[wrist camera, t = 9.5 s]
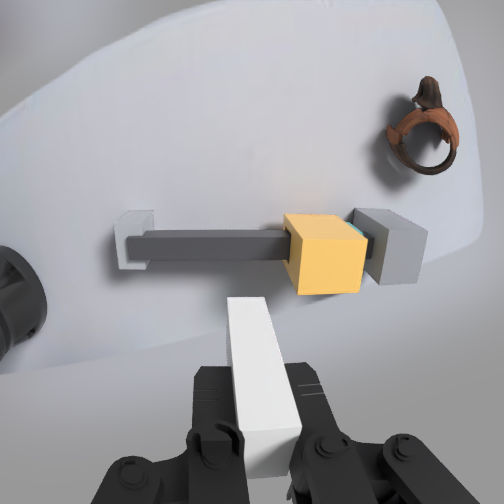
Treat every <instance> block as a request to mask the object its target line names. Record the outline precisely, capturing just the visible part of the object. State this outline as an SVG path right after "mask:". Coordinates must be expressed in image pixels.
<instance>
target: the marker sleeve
mask: <svg viewBox="0 0 504 504" xmlns="http://www.w3.org/2000/svg"><path fill="white" fill-rule="evenodd" d="M283 230H289V232H290V233H291V246H290V259H289V260H282V261H283V263H284V266H285V268H286V270H287V272H288V275H289V277H290V279H291V281H292V284H293V286H294V288H295V290H296V293H297V295H313V294H338V293H358V292H359V289H360V284H361V279H362V273H363V267H364V261H365V255H366V249H367V242H368V240H367V239H366V238H365V237H364V236H362V235H361V234H360V233H359V232H357V231H356V230H355V229H354V228H352V227H351V226H350V225H348V224H347V223H346V222H344V221H343V220H342V219H341V218H339V217H338V216H337V215H314V214H284V224H283Z"/></svg>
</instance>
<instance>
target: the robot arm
mask: <svg viewBox="0 0 504 504" xmlns="http://www.w3.org/2000/svg"><path fill="white" fill-rule="evenodd" d="M46 315H47V302H46V297H45V293H44V290H43V287H42V284H41V282H40V280H39V278H38V276H37V275H36V273H35V271H34V270H33V268H32V267H31V266H30V264H29V263H28V262H27V261H26V260H25V259H24V258H23V257H22V256H21V255H20V254H18V253H17V252H16V251H14V250H12V249H11V248H8V247H5V246H0V361H1V360H2V358H3V357H4V355H5V354H6V353H7V351H8V350H9V349H10V348H12V347H14V346H16V345H18V344H20V343H22V342H24V341H26V340H28V339H30V338H31V337H33V336H34V335H35V334H36V333H37V332H38V330H39V329H40V328H41V327H42V325H43V324H44V322H45V319H46ZM226 338H227V339H226V351H227V352H226V353H227V366H224V367H223V366H218V367H217V366H201V367H200V369H199V370H198V372H197V373H196V375H195V376H194V391H193V415H192V429H191V430H190V431H189V432H188V435H187V438H186V444H187V449H186V450H185V452H184V453H183V454H181V455H179V456H177V457H175V458H172V459H169V460H164V461H159V462H154V463H152V462H151V461H149V460H147V459H145V458H143V457H137V456H128V457H122V458H120V459H119V460H117V461H115V462H114V463H113V464H112V465H111V466H110V468H109V469H108V471H107V473H106V475H105V477H104V479H103V481H102V483H101V485H100V487H99V489H98V491H97V493H96V495H95V496H94V499H93V501H92V502H91V504H250V502H249V494H248V487H247V479H255V478H269V477H279V476H287V474H288V471H289V469H290V474H291V478H292V482H291V485H290V488H289V490H288V493H287V500H290V499H291V497H292V502H293V504H480V503H479V502H478V501H477V500H476V499H475V498H474V497H473V496H472V495H471V494H470V493H469V491H468V490H467V489H465V487H464V486H463V485H462V484H461V483H460V482H459V481H458V480H457V479H456V478H455V477H454V476H453V475H452V473H450V471H449V470H448V469H447V468H446V467H445V466H444V465H443V464H442V463H441V462H440V461H439V460H438V459H437V458H436V456H435V455H434V454H433V453H432V452H431V451H430V450H429V449H428V448H427V447H426V446H425V445H424V444H423V442H422V441H420V440H419V439H418V438H416V437H415V436H412V435H409V434H397V435H394V436H391V437H390V438H389V439H388V440H386V442H385V443H384V444H373V443H372V444H371V443H361V442H356V441H354V440H351V439H350V438H349V436H347V435H345V434H344V433H343V432H341V431H340V430H339V428H338V426H337V424H336V421H335V419H334V416H333V414H332V411H331V409H330V406H329V404H328V401H327V399H326V396H325V394H324V391H323V389H322V386H321V385H320V381H319V379H318V376H317V374H316V371H314V370H313V369H312V368H311V367H310V366H309V365H308V364H307V363H306V362H302V363H287V364H284V363H283V360H282V356H281V353H280V349H279V346H278V343H277V339H276V336H275V332H274V329H273V325H272V322H271V319H270V315H269V312H268V308H267V305H266V301H265V298H264V297H227V337H226Z"/></svg>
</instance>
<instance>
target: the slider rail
mask: <svg viewBox="0 0 504 504" xmlns="http://www.w3.org/2000/svg"><path fill="white" fill-rule="evenodd" d="M346 223H347V224H348V225H350V226H351V227H352V228H354V229H355V230H356V231H357V232H359V233H360V234H361V235H362V236H364V237H365V238H366V239H367V240H368V242H367V249H366V255H365V261H364V267H363V269H364V270H365V271H366V272H367V273H368V274H369V275H370V276H371V277H372V278H373V279H374V280H375V281H376V283H377V284H378V285H394V284H410V283H417V280H418V276H419V272H420V268H421V263H422V259H423V254H424V249H425V245H426V239H427V234H428V231H427V230H426V229H424V228H422V227H420V226H418V225H417V224H415V223H413V222H411V221H409V220H407V219H406V218H404V217H402V216H400V215H398V214H396V213H394V212H392V211H390V210H385V209H367V208H355V210H354V218H353V225H352V224H351V223H349V222H346ZM114 232H115V241H116V249H117V257H118V265H119V269H146V268H147V266H148V264H149V262H150V260H289V259H290V246H291V233H290V232H289V230H154V219H153V210H139V211H128V212H127V213H126V214H124V215H123V216H122V217H121V218H120V219H119V220H117V221H116V222H115V223H114Z"/></svg>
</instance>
